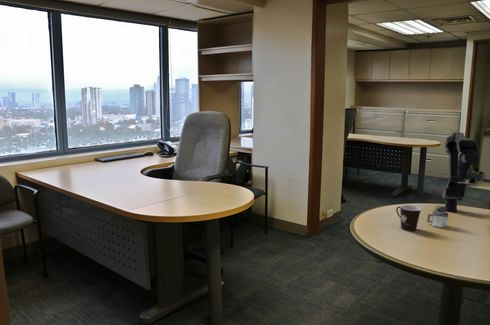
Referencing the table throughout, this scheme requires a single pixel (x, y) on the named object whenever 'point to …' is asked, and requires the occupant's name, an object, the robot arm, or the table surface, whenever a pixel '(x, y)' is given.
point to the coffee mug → (409, 217)
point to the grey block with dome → (438, 219)
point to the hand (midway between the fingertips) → (462, 197)
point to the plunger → (440, 209)
